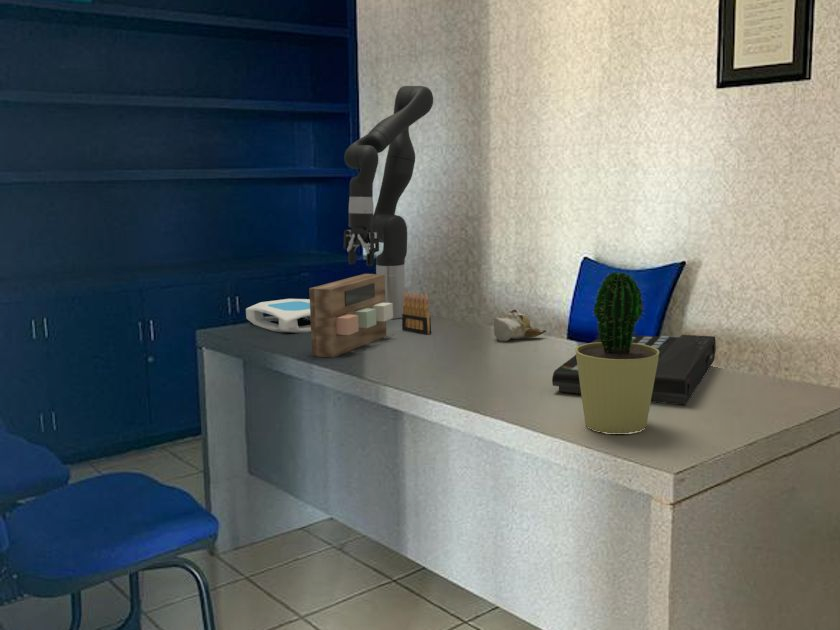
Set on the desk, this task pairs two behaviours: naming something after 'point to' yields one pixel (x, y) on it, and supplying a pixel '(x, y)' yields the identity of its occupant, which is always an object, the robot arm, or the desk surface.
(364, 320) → the sage key
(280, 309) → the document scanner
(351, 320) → the terracotta key
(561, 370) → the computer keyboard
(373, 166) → the robot arm
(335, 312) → the keypad console
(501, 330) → the ceramic sculpture
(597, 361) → the potted cactus
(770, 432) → the desk surface
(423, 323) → the ammunition clip
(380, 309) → the cream key
